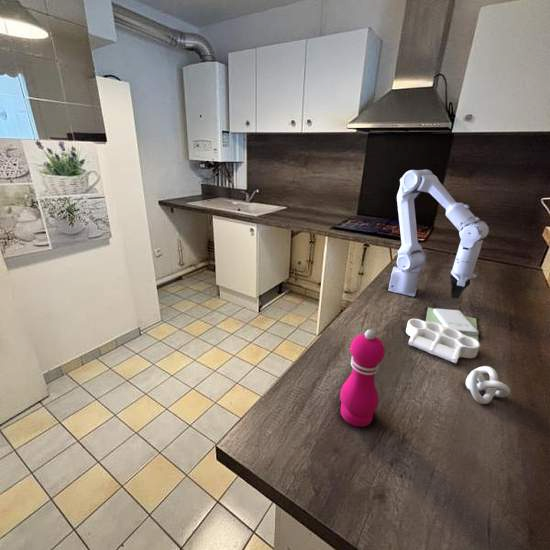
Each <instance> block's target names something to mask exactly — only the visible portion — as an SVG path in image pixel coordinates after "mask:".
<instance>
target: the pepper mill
mask: <svg viewBox="0 0 550 550" xmlns="http://www.w3.org/2000/svg"><path fill="white" fill-rule="evenodd" d="M349 346H350V347H349V351H350V355H351V360H350V366H351V368H352V370H351V373H350V375H349V376H348V378H347V379H346V380H345V382H344V383H343V384H342V386H341V389H340V393H339V398H340V402H341V405H340V415H341V416H342V418H343V420H344V421H345V422H346V423H348V424H349V425H350V426H354V427H359V428H360V427H361V428H362V427H367V426H368V425H370V424H371V423H372V421H373V417H374V412H376V411H377V409H378V406H379V394H378V389H377V387H376V384H375V377H376V376H375V375H376V374H377V373H378V372H379V370H380V363H381V362H382V361H383V360H384V358H385V355H386V348H385V345H384V342H383V341H382V340H381V339H380V338H379V337H378V336H376V333H375V331H374V330H373V329H367V330H365V332H364V333H361V334H358V335H356V336H355V337H354V338H353V339H352V341H351V343H350V345H349Z"/></svg>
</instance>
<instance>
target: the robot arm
mask: <svg viewBox="0 0 550 550" xmlns="http://www.w3.org/2000/svg"><path fill="white" fill-rule="evenodd" d="M422 192H424V193H428V194H430V195H431V196H432V198H434V199H435V200H436V201H437V202H438V203H439V204H440V205H441V206H442V207H443V208H444V210H445V217H446V218H447V219H448V220H449V222H451V223H452V225H453V226H454V227H455V228H456V230H458V233H459V234H458V235H459V238H460V242H459V244H458V248H457V252H456V255H455V259H454V262H453V266H452V269H451V270H450V274H451V275H450V276H449V281H450V285H451V287H450V298H451V299H455V300H459V298H461V295H462V294H463V292H464V291H465V289H466V288H467V287H469V286H470V284H471V279H472V278H473V279H476V278H477V274H476V273H474V271H475V267H476V264H477V261H478V258H479V255H480V252H481V248H482V245H483V241H484V239H485V238H486V237H487V236H488V235H489V233H490V227H489V225H487V222H486V221H483V220H480V219H481V218H479V217H478V216H475V214H473V212H472V211H471V210H470V206H469V205H468V204H464V203H463V202H456V200H455V199H454V198H453V197H452V196H451V194H450V193H449V191H448V190H447V189H446V188H445V186H444V185H443V184H442V183H441V182H440V180H439V178H438V176H436V175H435V174H434V173H433V172H432V171H431V170H430V169H409V170H408V171H406V172H405V173H404V174H403V175H402V177H400V179H399V189H398V191H397V194H396V202H397V204H396V205H397V212H398V222H399V232H400V233H399V234H400V241H401V245H400V247H399V249H398V250H397V258H396V266H393V267H392V270H391V274H390V279H389V281H388V283H389V284H388V289H387V291H388V292H392V293H397V294H399V295H404V296H410V297H415V296H416V293H417V290H418V288H417V285H418V281H419V276H420V272H421V267H422V266H423V265H424V264H425V263H426V255H425V253H424V250H423V247H422V246H421V244H420V243H419V240H418V230H417V219H416V208H415V199H416V198H417V197H418V195H419V194H420V193H422Z"/></svg>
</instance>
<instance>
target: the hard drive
mask: <svg viewBox="0 0 550 550" xmlns="http://www.w3.org/2000/svg"><path fill="white" fill-rule="evenodd" d="M433 312H434V314H435V315H436V316H437V318H438V319H439V321H440V322H441V324H442V325H443V326H446V327H449V328H453V329H456V330H458V331H459V332H461V333H462V334H464V335H469V336H478V337H479V334H480V332H479V330H478V329H477V330H476V329H475V327H474V326H473V325H472V324H471V323H470V322H469V321H468V319H467V318H466V317H465V316H466V315H464V313H462V311H461V310H458V309H446V308H434V311H433Z"/></svg>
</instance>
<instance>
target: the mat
mask: <svg viewBox="0 0 550 550" xmlns="http://www.w3.org/2000/svg"><path fill="white" fill-rule="evenodd" d="M434 309H435V308H433V307H429V306H428V307H427V311H426V316H425V321H426V322H435V323H439V324H441V322H440V321H439V319H438V318H437V316H436V315H435V314H434V312H433V311H434ZM464 316H465V317H466V318H467V319H468V321H469V322H470V323H471V324H472V325H473V326H474V327H475V329H476V330H477V331H478V324H477V318H476V317H471V316H467V315H464ZM441 325H442V324H441ZM466 336H469V335H466ZM469 337H472V338H474V339H476V340H477V341H478V342H479V335H478V336H469Z"/></svg>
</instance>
